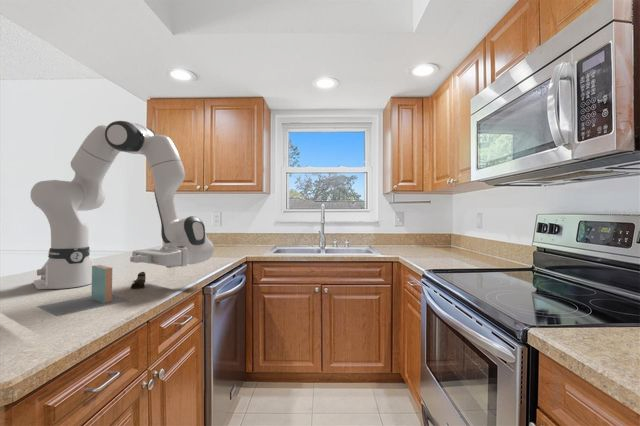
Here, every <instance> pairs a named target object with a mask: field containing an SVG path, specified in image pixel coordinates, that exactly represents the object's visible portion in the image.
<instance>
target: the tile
mask: <svg viewBox="0 0 640 426" xmlns="http://www.w3.org/2000/svg"><path fill="white" fill-rule="evenodd" d="M112 294H113V267H110V266H107V265H106V266H105V265H102V264H101V265H100V264H97V265H95V264H94V266H92V283H91V299H94V300H97V301H100V302H103V303H106V302H111V301H112Z"/></svg>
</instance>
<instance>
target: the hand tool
mask: <svg viewBox="0 0 640 426" xmlns="http://www.w3.org/2000/svg"><path fill="white" fill-rule="evenodd" d="M145 283H146V272H145V271H140V272H139V273H138V274H137V277H136V279H135V280H134V282H133V283H131V286H130V290H138V289H139V290H140V289H141V290H142V289H144V288H145Z"/></svg>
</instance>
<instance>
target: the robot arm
mask: <svg viewBox="0 0 640 426" xmlns="http://www.w3.org/2000/svg"><path fill="white" fill-rule="evenodd" d="M120 152H123V153H128V154H131V155H133V154H134V155H143V156H145V158H146V160H147V162H148V164H149V168H150V171H151V174H152V177H153V184H154V185H153V186H154V189H153V191H154V199H155V202H156V203H155V204H156V207H157V211H158V214H159V218H160V224H161V227H160V230H161V231H160V232H161V234H160V236H161V238H162V241H163V242H164V244H163V246H162V247H161V248H160V249H154V248H153V249H137V250H133V251H132V252H131V254H132V255H131V256H130V257H129V262H130V263H134V264H137V263H139V264H140V263H145V264H150V265H157V266H163V267H166V268H168V269H172V268H178V267H187V266H188V265H197V264H200V263H205V262H206V261H209V260H210V259H211V258H212V257H213V255H214V251H215V247H214V244H213V242H212V241H211V240H210V239H209V238H208V235H207V233H206V226H205V224H204V222H203V220H201V219H200V218H199V217H198V216H194V215H190V216H186V217H184V218H181V219H179V218H178V212H177V210H176V204H175V201H174V200H175V196H176V195H175V194H176V192H177V191H178V189H179V188H180V187H181V185H182V184H183V182H184V180H185V179H186V173H185V167H184V164H183V162H182V159H181V156H180V154H179V152H178V149H177V147H176V146H175V143H174V142H173V140H172V139H171V138H170V137H169V136H167V135H165V134H164V135H163V134H156V132H155V131H153V130H152V129H151V128H148V127H146V126H143V125H142V124H140V123H133V122H129V121H126V120H115V121H113V122H110V123H108V124H107V125H102V124H101V125H98V126H96V127H94V129H93V130H92V131H90V132H89V134H88V135H87V136H86V137H85V139H84V140H83V141H82V143H81V145H80V146H79V147H78V149H77V151H76V153H75V155H74V156H73V158H72V159H71V161H70V167H71V169H72V170H73V172H74V178H73V179H72V180H70V181H69V180H66V181H65V180H61V179H60V180H57V179H50V180H49V179H48V180H40V181H37V182H36V183H35V184H34V185H33V186H32V187H31V190H30V200H31V202H32V203H33V205H34V206H35V207H36V208H38V209H40V210H41V211H42V213H43V214H44V215H45V217H46V218H47V221H48V224H49V227H50V228H49V229H50V248H49V250H48V253H47V254H48V255H47V257H48V259H47V260H46V261H45V263H44V264H43V266H42V267H41V268H38V269H37V270H36V275H37V276H38V277H39V276H40V279H34V280H33V281H32V283H33V285H34V286H35V288H36V289H37V290H53V289H54V290H57V289H58V290H61V289H70V288H72V289H73V288H77V287H78V288H79V287H83V286H88V285H92V266H95V264H94V261H93V259H91V258H90V257H89V256H90V255H91V254H90V252H91V251H90V246H89V227H88V225H87V223H85V222H83V221H82V219H80V217H79V214H78V211H84V212H86V211H87V212H88V211H91V210H95V209H99V208H101V206H103V204H104V203H105V199H106V196H105V192H104V191H103V188H102V186H103V180H104V178H105V176H106V175H107V173H108V171H109V169H110V168H111V166H112V164H113V163H114V161H115V159H116V158H117V156H118V154H119V153H120Z"/></svg>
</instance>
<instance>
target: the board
mask: <svg viewBox="0 0 640 426" xmlns="http://www.w3.org/2000/svg"><path fill="white" fill-rule="evenodd" d="M91 296H92V295H91ZM91 296H84V297H80V298H75V299H69V300H65V301H64V300H63V301H58V302H54V303H47V304H42V305H38V306H37V308H40V309H42V310H44V311H45V312H48V313H50V314H52V315H54V316H56V317H60V316H65V315H69V314H74V313H78V312H82V311H86V310H87V311H88V310H93V309H97V308H101V307H106V306H110V305H114V304H119V303H123V302H129V301H130V299H128V298H126V297H122V296H119V295H116V294H113V293H112V301H111V302H106V303H103V302H100V301H97V300H94V299H91Z"/></svg>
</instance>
